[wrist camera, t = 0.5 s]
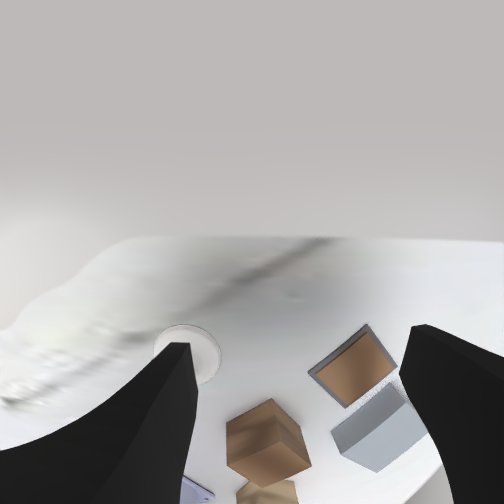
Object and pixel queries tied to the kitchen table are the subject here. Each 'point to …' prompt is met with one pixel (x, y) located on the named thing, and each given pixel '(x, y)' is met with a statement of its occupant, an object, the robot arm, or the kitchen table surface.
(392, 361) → the walnut swatch
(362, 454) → the base block
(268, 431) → the walnut block
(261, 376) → the kitchen table surface
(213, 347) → the chess piece
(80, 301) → the kitchen table surface
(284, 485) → the oak block
